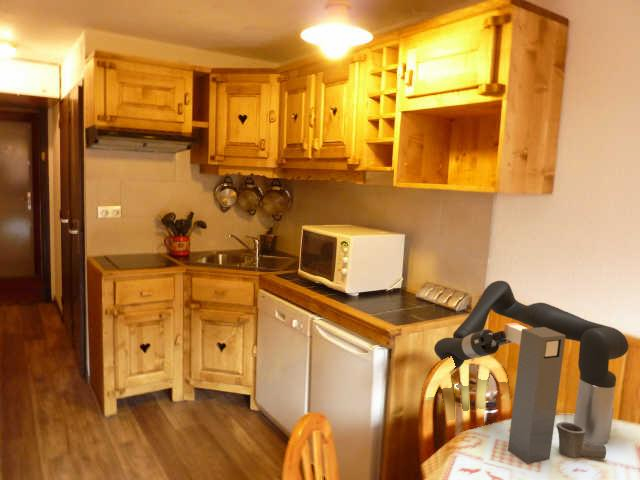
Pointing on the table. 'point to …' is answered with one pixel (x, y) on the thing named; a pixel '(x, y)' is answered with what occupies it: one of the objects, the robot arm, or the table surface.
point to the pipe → (577, 442)
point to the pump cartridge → (514, 335)
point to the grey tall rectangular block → (535, 395)
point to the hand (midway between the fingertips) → (516, 333)
